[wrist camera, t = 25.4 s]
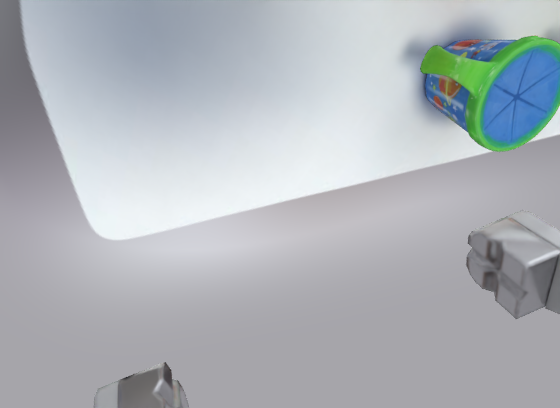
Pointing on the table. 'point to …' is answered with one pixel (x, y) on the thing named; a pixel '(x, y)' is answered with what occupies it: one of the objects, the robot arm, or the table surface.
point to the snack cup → (496, 87)
